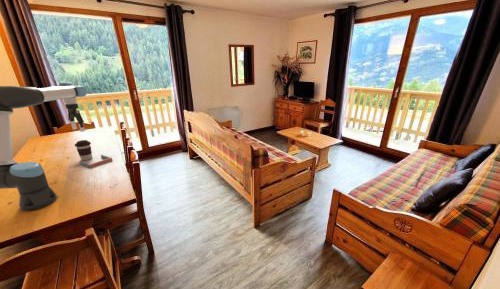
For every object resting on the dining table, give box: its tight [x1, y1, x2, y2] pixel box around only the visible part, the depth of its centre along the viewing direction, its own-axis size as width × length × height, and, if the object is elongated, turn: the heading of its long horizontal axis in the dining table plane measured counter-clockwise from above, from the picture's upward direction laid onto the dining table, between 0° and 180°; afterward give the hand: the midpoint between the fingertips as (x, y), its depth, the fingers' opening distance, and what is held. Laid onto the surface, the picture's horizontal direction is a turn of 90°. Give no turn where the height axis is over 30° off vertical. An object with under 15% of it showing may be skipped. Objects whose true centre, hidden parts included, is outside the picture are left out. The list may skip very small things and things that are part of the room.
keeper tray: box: [79, 154, 113, 169], centre depth 162 cm, size 16×14×2 cm
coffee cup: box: [74, 139, 93, 161], centre depth 167 cm, size 10×10×15 cm
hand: (78, 130), depth 166 cm, fingers open, 13 cm apart
